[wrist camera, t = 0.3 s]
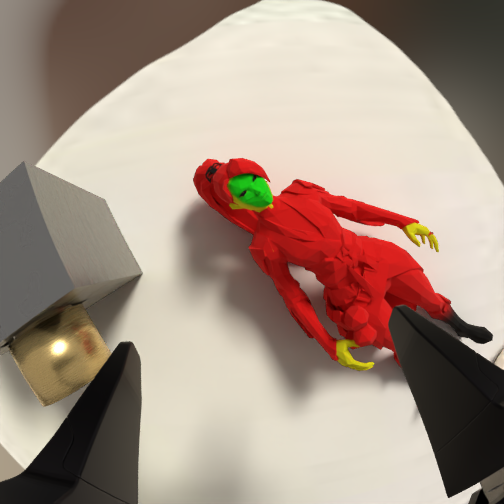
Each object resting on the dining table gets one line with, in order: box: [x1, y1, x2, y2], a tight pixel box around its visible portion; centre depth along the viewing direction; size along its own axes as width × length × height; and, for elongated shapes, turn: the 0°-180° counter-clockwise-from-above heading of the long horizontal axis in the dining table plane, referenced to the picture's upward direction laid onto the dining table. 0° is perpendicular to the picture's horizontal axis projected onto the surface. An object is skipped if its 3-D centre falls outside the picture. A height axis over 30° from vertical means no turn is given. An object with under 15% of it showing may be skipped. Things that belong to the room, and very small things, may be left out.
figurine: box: [193, 158, 493, 371], centre depth 23 cm, size 12×9×30 cm
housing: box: [0, 161, 142, 355], centre depth 17 cm, size 7×11×12 cm, turn 120°
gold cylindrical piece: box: [8, 304, 111, 407], centre depth 15 cm, size 8×6×6 cm
